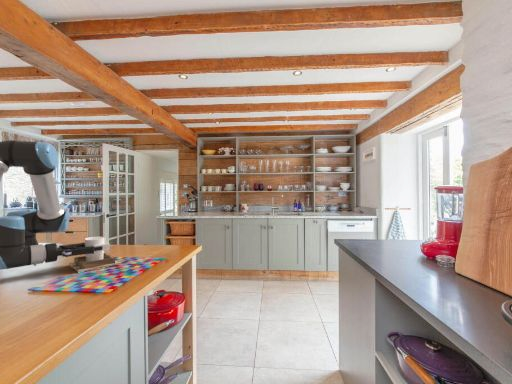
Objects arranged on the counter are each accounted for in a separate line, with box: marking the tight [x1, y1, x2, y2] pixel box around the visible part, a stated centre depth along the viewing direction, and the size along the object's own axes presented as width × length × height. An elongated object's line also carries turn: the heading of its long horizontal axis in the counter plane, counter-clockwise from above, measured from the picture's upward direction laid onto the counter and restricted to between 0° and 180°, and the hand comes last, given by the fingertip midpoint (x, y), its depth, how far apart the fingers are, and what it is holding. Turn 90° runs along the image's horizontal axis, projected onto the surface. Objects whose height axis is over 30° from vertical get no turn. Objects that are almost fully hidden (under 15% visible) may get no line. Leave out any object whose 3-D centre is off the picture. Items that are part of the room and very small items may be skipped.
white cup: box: [84, 236, 106, 262], centre depth 117 cm, size 8×8×10 cm
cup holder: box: [68, 252, 121, 273], centre depth 117 cm, size 16×16×4 cm
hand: (106, 245), depth 121 cm, fingers closed on white cup, 8 cm apart
